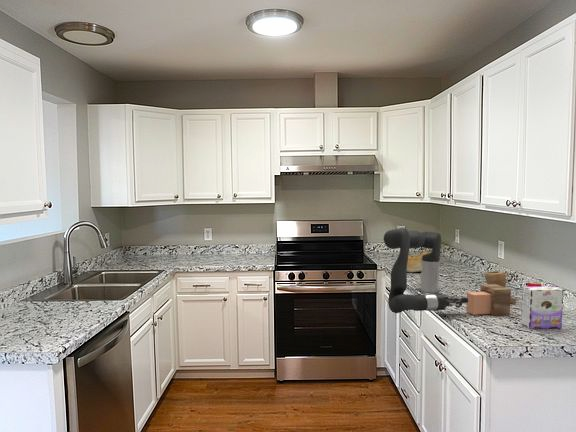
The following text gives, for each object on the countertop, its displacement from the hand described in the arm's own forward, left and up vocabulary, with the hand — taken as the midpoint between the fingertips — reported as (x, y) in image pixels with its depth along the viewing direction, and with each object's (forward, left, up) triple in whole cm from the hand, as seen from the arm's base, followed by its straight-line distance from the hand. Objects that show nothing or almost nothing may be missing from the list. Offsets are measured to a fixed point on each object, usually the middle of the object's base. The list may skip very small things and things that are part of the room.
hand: (466, 300), depth 180 cm
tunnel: (0, +15, -6) cm, 16 cm away
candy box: (+20, +21, -7) cm, 30 cm away
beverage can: (-5, +41, -7) cm, 41 cm away
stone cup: (-18, +32, -7) cm, 37 cm away
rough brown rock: (-91, +26, -7) cm, 95 cm away
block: (0, +10, -6) cm, 12 cm away
